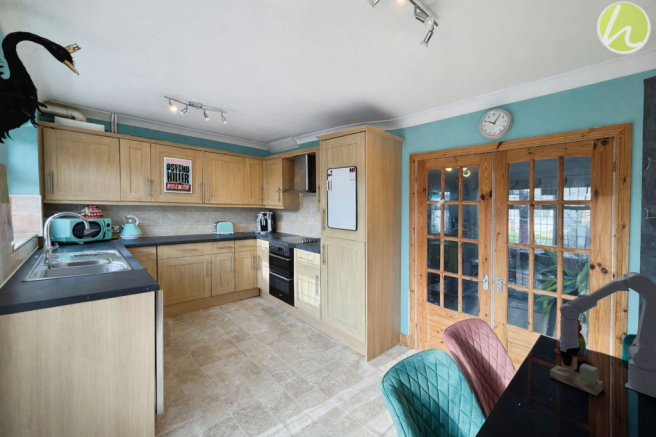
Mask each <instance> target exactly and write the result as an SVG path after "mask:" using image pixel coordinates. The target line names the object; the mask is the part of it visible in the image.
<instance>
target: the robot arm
mask: <svg viewBox="0 0 656 437" xmlns="http://www.w3.org/2000/svg"><path fill="white" fill-rule="evenodd" d="M630 290H632V291H634V292H636V293H637V294H638V295H639V296H640V297H641V298H643V303H642V307H641V312H640V316H639V321H638V326H637V330H636V336H635V338H634V339H633V341H632V344H631V345H629V346H628V348H627V352H628V355H629V356H630V357H631V358H630V359H628V381H627V382H626V383H625V384H624V387H625V388H628V389H630V390H632V391H635V392H639V393H642V394H644V395H647V396H650V397H653V398H656V283H655V282H653V280H651V279H650V278H648V277H647V276H645V275H643V274H641V273H639V272H636V271H630V272H627V273H624V274H623V275H620V276H617V277H615V278H614V279H612V280H610V281H609V282H607V283H606V284H604V285H602V286H601V287H600V288H598V289H596V290H595V291H593V292H591V293H582V294H581V293H578V294H577V297H575V298H572V300H568V301H566V303H562V304H561V305H560V307H559V312H560V314H561V315H560V321H559V322H560V326H559V329H560V332H559V333H560V336H559V338H558V339H557V340H556V341H557V343H559V345H558V346H557V348H558V351H559V352H560V354H561V356H562V359H561V361H562V360H563V363H564V365H566V366H569V367H570V366H571V364H572V358H573V356H576V357H577V354H578V352H579V351H580V350H581V348H580V347H579V344H578V323H577V319H578V318H579V316H580V314H583V313H586V312H588V311H589V310H591V309H594V308H595V307H597V306H598V301H600V300H602V299H604V298H606V297H609V296H611V295H612V294H615V293H617V292H630ZM561 356H560V357H561Z"/></svg>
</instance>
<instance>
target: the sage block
mask: <svg viewBox="0 0 656 437" xmlns="http://www.w3.org/2000/svg"><path fill="white" fill-rule="evenodd" d="M579 373H580V379H581V380H584V381H586V382H589V383H591V384H595V383H596V382H597V380H598V367H595V366H592V365H589V364H587V363H582V364H581V365H579Z"/></svg>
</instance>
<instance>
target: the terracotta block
mask: <svg viewBox="0 0 656 437" xmlns="http://www.w3.org/2000/svg"><path fill="white" fill-rule="evenodd" d="M560 357H561V367H564V368H566V369H569V370H572V371H576V370H577V369H578V361H577V357H576V356H573V358H572V364H571V366H570V367H569V366H566V365H564V363H563V360H562V356H560Z"/></svg>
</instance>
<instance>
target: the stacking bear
mask: <svg viewBox="0 0 656 437" xmlns="http://www.w3.org/2000/svg"><path fill="white" fill-rule="evenodd" d="M577 323H578V344H579V347H580V348H581V350H580V351H579V352H578V354H577V362H585V361H586V356H585V352H586V351H587V350H586V348H587V343H586V340H585V339H586V338H585V336H584V335H583V333H581V331H582V329H583V325H582V323H581V321H580V319H578V318H577ZM553 351H554V353H555V354H557V356H560V357H561V354H560V352H559V351H558V347H557V348H555V349H554V350H553Z"/></svg>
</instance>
